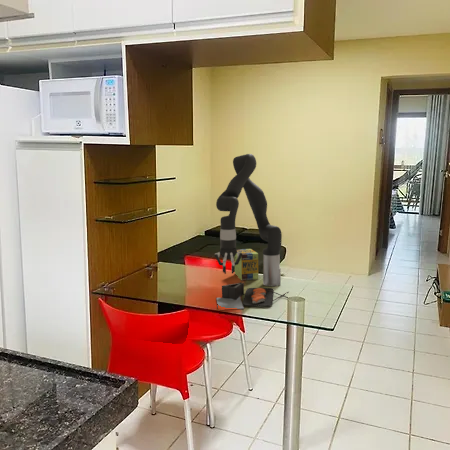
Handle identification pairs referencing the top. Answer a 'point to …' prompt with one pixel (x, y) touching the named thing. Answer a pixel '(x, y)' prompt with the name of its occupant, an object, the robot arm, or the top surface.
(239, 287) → the phone stand
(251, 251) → the protein box
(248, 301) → the sushi plate
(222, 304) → the mat
